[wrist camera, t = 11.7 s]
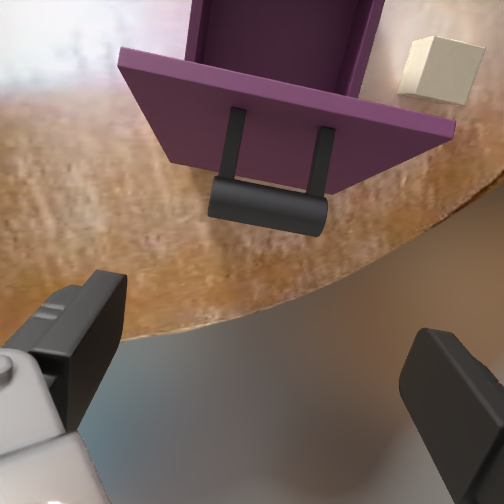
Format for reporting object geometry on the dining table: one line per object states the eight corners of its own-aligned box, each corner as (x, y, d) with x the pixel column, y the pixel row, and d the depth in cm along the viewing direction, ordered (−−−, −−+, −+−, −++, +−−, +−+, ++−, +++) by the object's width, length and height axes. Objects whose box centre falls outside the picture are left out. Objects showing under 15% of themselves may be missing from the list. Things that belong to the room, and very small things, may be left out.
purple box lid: (120, 45, 15) (93, 190, 15) (457, 119, 17) (432, 255, 17) (171, 152, 33) (159, 221, 33) (334, 185, 34) (322, 251, 34)
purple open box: (211, -59, 33) (203, -91, 27) (371, -19, 34) (396, -42, 28) (183, 147, 39) (171, 156, 33) (320, 174, 40) (332, 189, 34)
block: (412, 41, 36) (434, 35, 32) (459, 52, 36) (486, 47, 32) (396, 93, 37) (414, 94, 33) (441, 104, 38) (465, 105, 34)
